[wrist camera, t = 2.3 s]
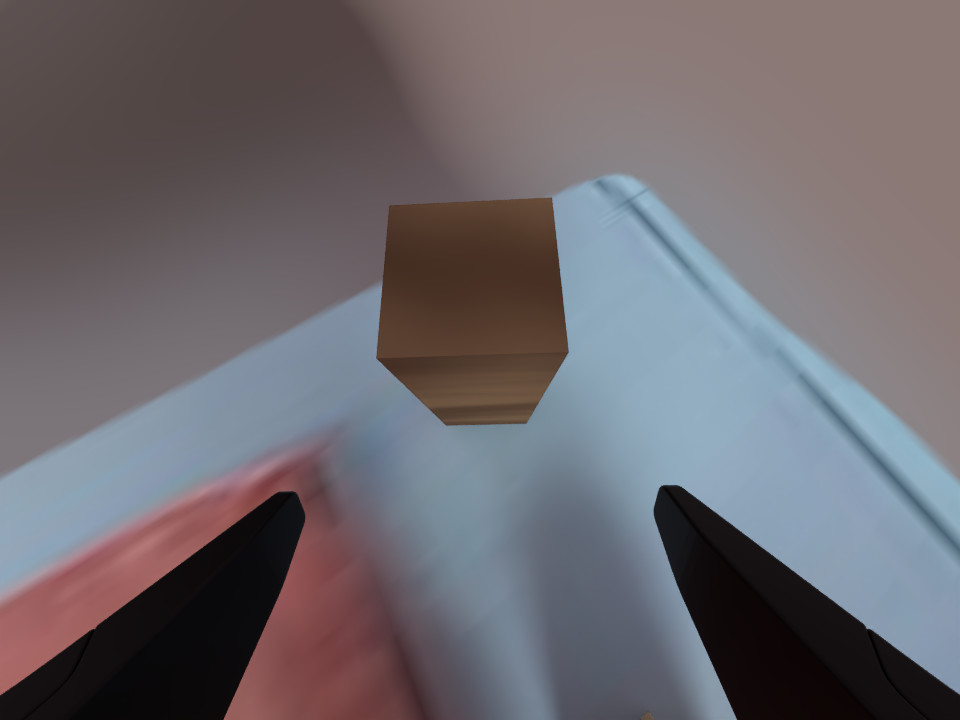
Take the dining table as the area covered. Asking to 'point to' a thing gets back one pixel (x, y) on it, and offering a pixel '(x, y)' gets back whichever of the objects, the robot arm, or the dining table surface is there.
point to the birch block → (647, 717)
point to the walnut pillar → (473, 307)
